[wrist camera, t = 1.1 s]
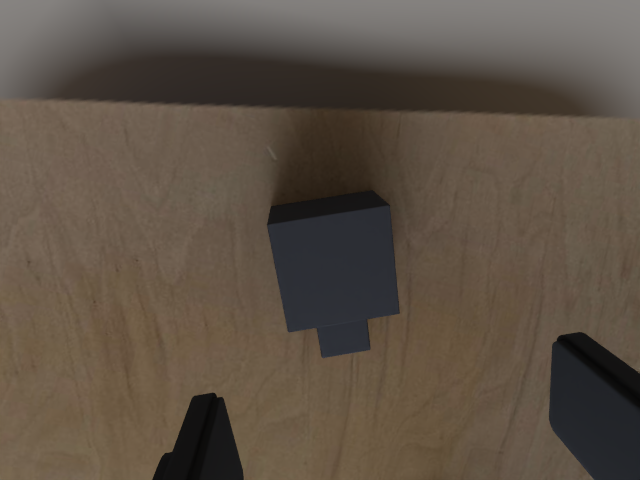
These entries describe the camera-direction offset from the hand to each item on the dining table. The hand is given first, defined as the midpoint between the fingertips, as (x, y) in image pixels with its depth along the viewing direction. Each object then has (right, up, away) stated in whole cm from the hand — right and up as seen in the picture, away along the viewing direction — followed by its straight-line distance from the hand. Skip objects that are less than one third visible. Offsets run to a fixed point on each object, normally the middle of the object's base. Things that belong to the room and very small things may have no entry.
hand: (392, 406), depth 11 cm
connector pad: (-1, +3, +13) cm, 13 cm away
